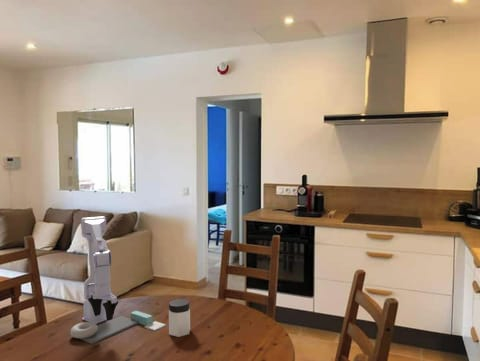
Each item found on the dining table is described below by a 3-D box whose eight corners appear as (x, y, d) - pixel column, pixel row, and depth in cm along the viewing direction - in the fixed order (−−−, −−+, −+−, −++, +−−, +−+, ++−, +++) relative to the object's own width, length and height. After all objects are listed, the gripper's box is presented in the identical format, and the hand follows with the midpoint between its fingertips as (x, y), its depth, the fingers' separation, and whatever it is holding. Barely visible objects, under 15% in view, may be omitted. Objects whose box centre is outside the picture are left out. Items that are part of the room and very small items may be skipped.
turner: (128, 322, 166) (127, 314, 166) (139, 317, 171) (138, 309, 171) (154, 331, 157) (154, 322, 157) (165, 325, 162) (165, 317, 162)
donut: (81, 333, 146) (64, 328, 151) (82, 342, 146) (64, 336, 151) (103, 323, 155) (86, 318, 160) (103, 331, 155) (86, 327, 160)
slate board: (74, 336, 153) (74, 334, 153) (121, 317, 171) (121, 315, 171) (91, 344, 146) (91, 342, 146) (138, 323, 164) (138, 321, 164)
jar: (170, 327, 160) (170, 298, 160) (191, 327, 161) (190, 298, 160) (167, 337, 152) (167, 307, 151) (189, 336, 152) (188, 306, 151)
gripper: (82, 282, 152) (83, 316, 152) (105, 289, 143) (106, 325, 144) (98, 277, 157) (98, 310, 158) (121, 284, 149) (122, 319, 150)
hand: (103, 317), depth 151 cm, fingers open, 7 cm apart
